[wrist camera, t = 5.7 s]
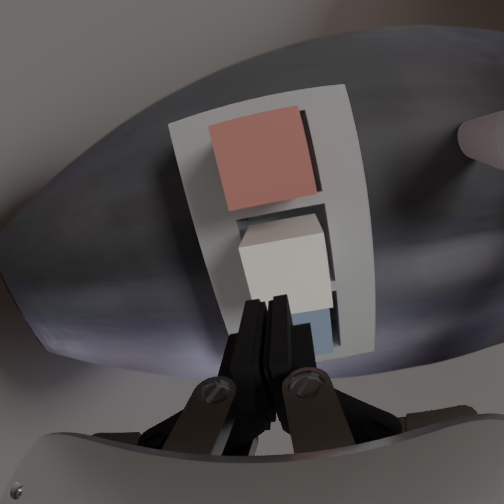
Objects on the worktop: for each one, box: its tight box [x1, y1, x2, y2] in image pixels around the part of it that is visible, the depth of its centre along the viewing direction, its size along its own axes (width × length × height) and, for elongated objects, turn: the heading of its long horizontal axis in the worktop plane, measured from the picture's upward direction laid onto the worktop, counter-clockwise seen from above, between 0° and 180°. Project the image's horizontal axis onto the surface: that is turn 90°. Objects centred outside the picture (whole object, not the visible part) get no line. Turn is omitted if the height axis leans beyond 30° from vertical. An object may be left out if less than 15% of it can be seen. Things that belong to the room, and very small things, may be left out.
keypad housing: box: [168, 84, 375, 362], centre depth 21 cm, size 12×21×5 cm, turn 13°
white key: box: [238, 213, 333, 314], centre depth 17 cm, size 4×4×4 cm
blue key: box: [291, 308, 333, 355], centre depth 22 cm, size 4×4×4 cm
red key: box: [208, 105, 317, 211], centre depth 15 cm, size 4×4×4 cm
